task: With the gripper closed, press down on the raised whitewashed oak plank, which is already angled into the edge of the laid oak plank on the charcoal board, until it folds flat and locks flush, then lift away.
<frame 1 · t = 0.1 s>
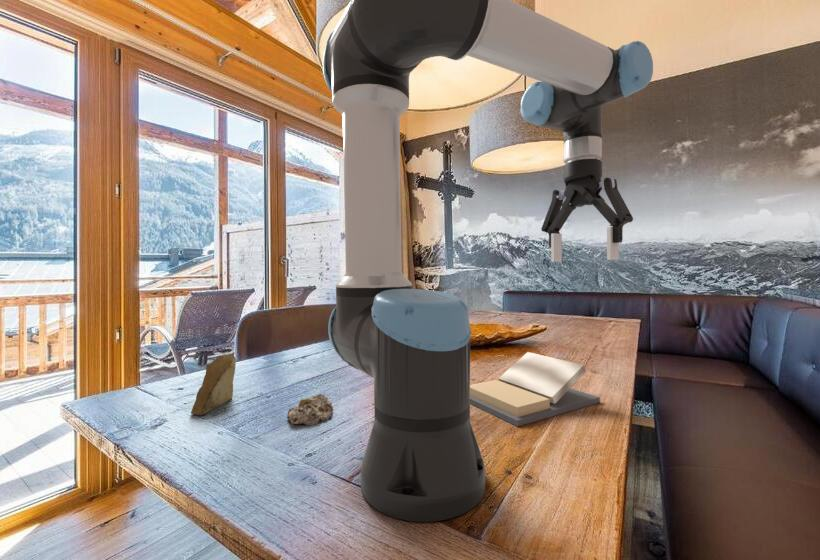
hand: (582, 261, 81), 28 cm above the table, fingers open, 13 cm apart
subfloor: (527, 400, 74), on the table
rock: (211, 406, 73), on the table
mineral rock: (312, 417, 68), on the table
plank: (539, 375, 76), point 5 cm above the table, hinge at 28.0°
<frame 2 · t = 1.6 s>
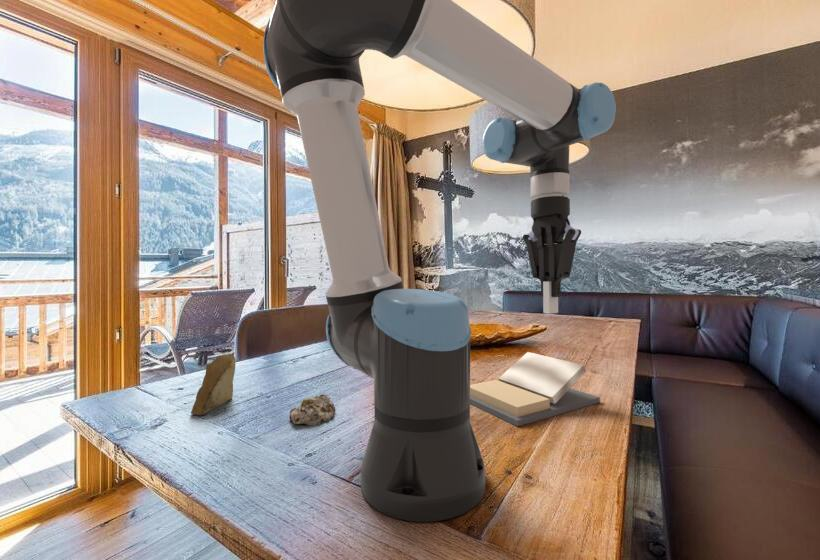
hand: (550, 312, 77), 17 cm above the table, fingers closed
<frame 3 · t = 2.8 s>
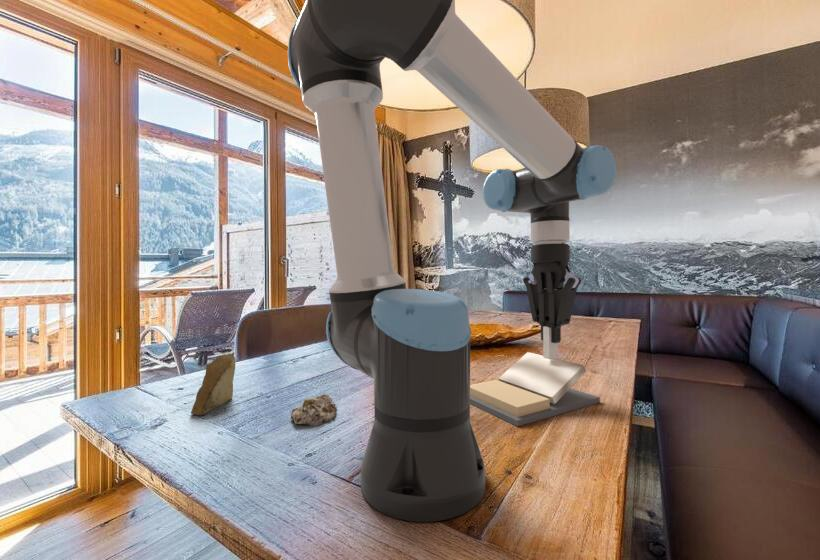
hand: (550, 357, 77), 8 cm above the table, fingers closed
plank: (539, 375, 76), point 5 cm above the table, hinge at 27.8°, touching gripper
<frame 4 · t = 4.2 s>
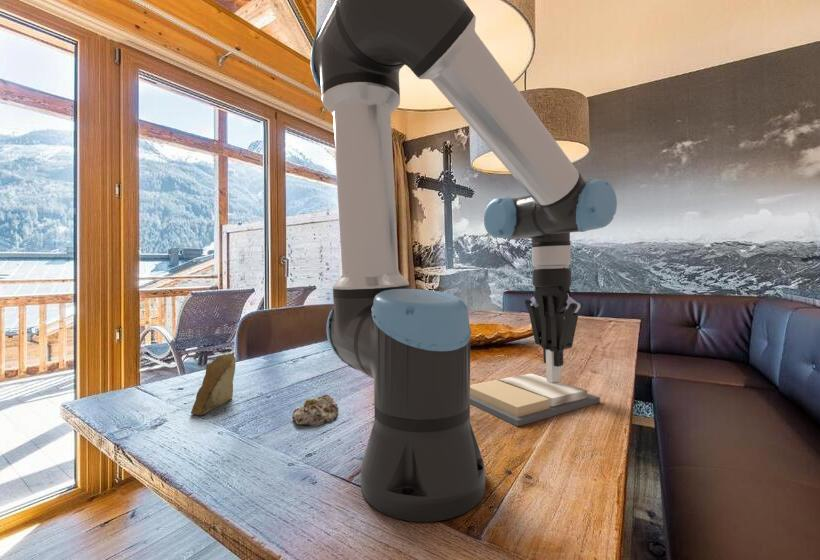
hand: (553, 380, 78), 3 cm above the table, fingers closed
plank: (540, 388, 76), point 2 cm above the table, hinge at -1.0°, touching gripper
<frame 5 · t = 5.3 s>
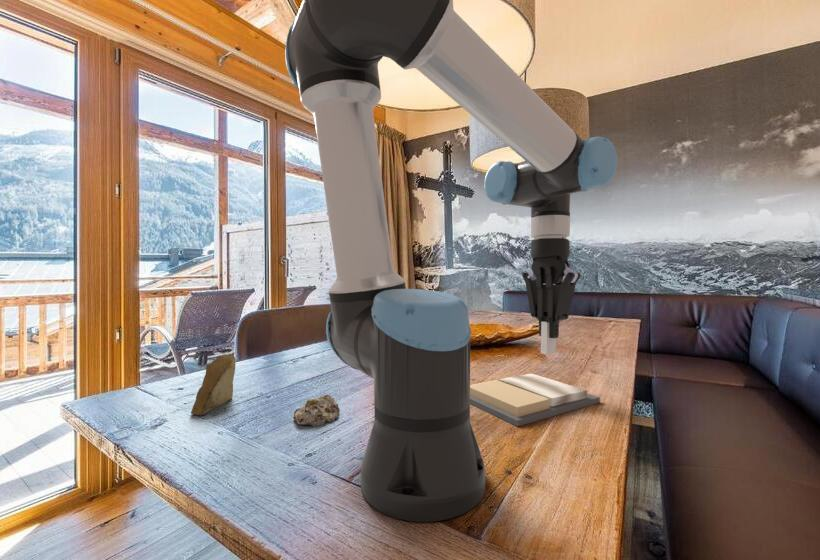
hand: (548, 353, 77), 9 cm above the table, fingers closed
plank: (540, 388, 76), point 2 cm above the table, hinge at -1.0°
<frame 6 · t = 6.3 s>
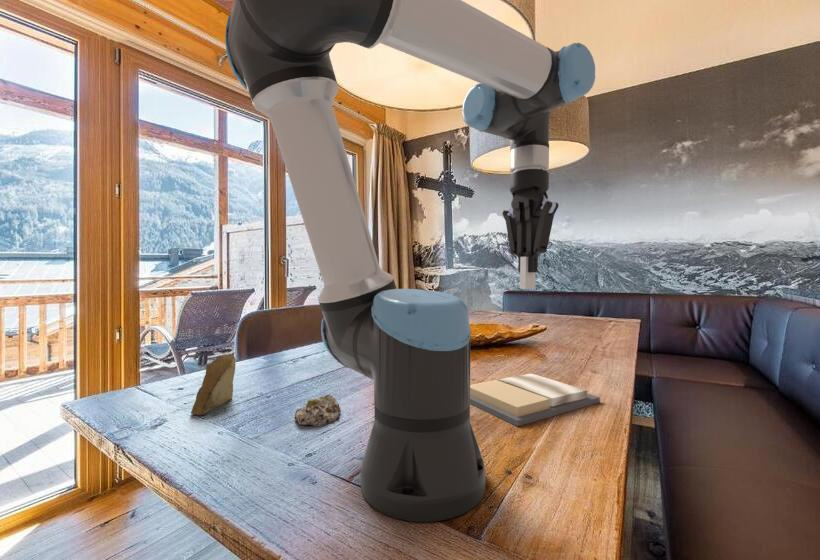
hand: (527, 288, 76), 22 cm above the table, fingers closed
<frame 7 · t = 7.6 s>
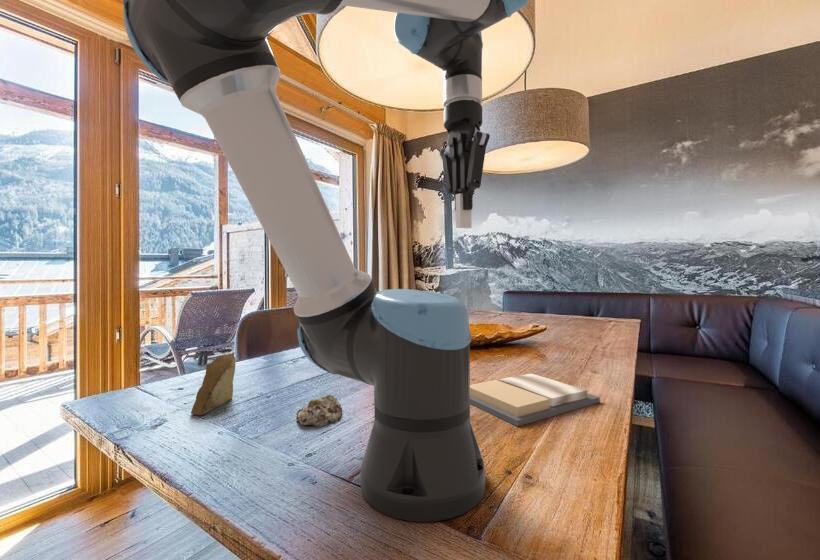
hand: (463, 227, 73), 34 cm above the table, fingers closed
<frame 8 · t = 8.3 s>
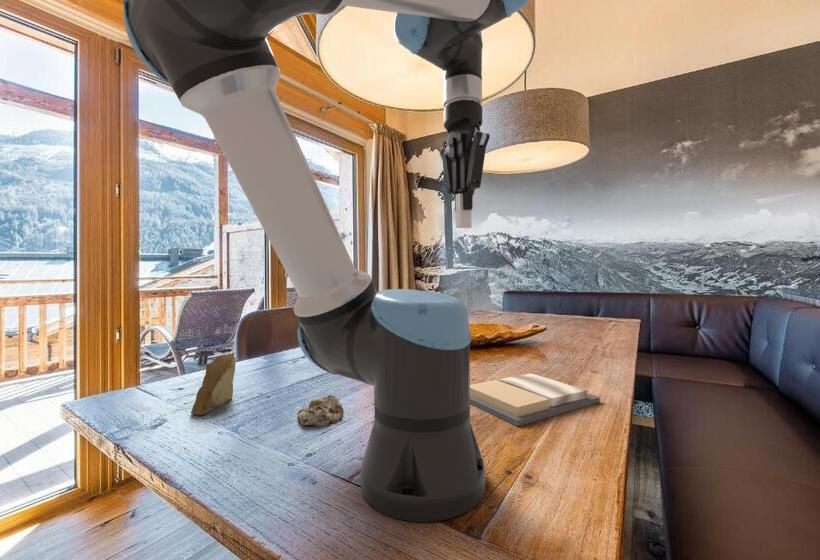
hand: (463, 227, 73), 34 cm above the table, fingers closed
at the end: plank at -1° (first picture: +28°) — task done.
